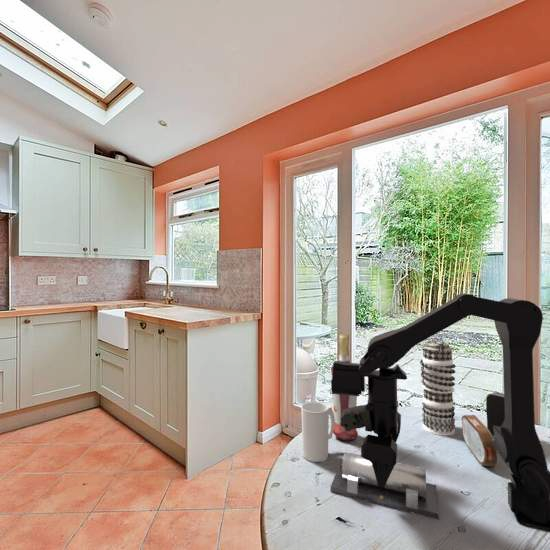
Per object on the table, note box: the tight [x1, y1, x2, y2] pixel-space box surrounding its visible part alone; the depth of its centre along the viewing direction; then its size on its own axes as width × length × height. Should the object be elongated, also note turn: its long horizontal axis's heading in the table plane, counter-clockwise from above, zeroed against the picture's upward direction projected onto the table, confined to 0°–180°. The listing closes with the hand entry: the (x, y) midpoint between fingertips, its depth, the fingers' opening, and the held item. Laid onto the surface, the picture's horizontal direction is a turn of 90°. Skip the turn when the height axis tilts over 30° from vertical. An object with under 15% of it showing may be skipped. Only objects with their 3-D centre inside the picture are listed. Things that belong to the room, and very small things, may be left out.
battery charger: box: [485, 392, 505, 436], centre depth 90 cm, size 7×4×11 cm, turn 34°
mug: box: [300, 401, 335, 463], centre depth 82 cm, size 10×7×12 cm, turn 125°
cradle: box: [330, 463, 440, 520], centre depth 67 cm, size 20×10×4 cm, turn 66°
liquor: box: [330, 334, 358, 441], centre depth 91 cm, size 7×7×28 cm
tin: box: [461, 414, 498, 468], centre depth 81 cm, size 15×3×8 cm, turn 168°
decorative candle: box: [419, 340, 456, 437], centre depth 95 cm, size 9×9×25 cm
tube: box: [341, 452, 427, 498], centre depth 67 cm, size 16×5×5 cm, turn 66°
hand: (383, 473), depth 67 cm, fingers open, 9 cm apart
